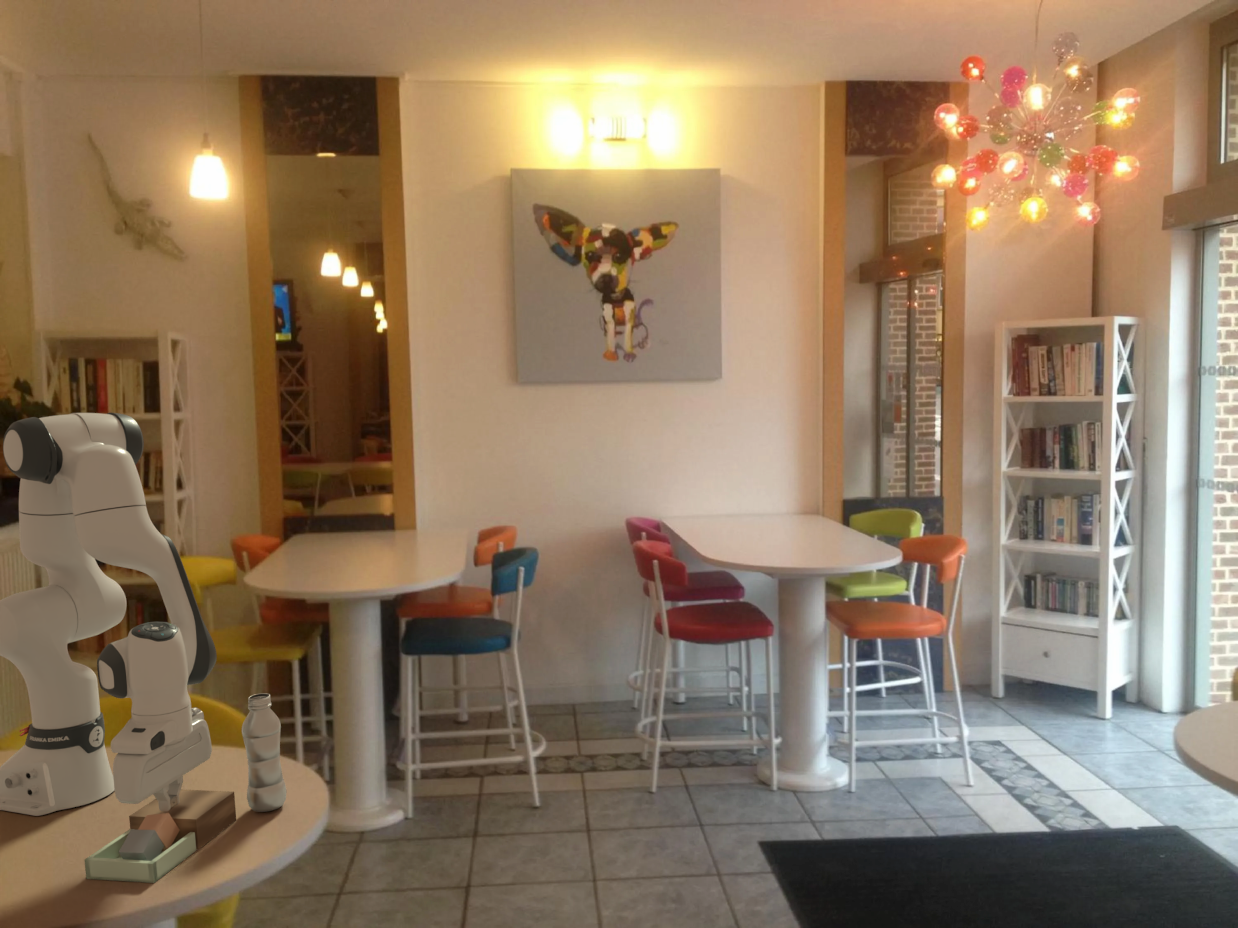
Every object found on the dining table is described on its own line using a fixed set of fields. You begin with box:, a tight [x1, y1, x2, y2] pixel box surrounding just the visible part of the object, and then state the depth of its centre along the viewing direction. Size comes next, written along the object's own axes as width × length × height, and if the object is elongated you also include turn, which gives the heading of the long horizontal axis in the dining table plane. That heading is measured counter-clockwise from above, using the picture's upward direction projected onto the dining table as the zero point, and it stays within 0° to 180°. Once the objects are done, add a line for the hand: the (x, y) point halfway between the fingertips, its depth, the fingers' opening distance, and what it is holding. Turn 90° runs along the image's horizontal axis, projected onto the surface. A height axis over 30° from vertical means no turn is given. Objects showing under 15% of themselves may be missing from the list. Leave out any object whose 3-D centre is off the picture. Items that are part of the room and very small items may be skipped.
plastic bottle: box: [241, 692, 287, 813], centre depth 184 cm, size 6×7×20 cm
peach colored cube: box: [138, 813, 180, 851], centre depth 168 cm, size 4×4×4 cm
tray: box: [84, 828, 197, 884], centre depth 165 cm, size 12×11×3 cm
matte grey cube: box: [119, 829, 164, 861], centre depth 164 cm, size 4×4×4 cm
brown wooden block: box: [128, 788, 237, 851], centre depth 176 cm, size 12×11×5 cm
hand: (169, 807), depth 172 cm, fingers closed
